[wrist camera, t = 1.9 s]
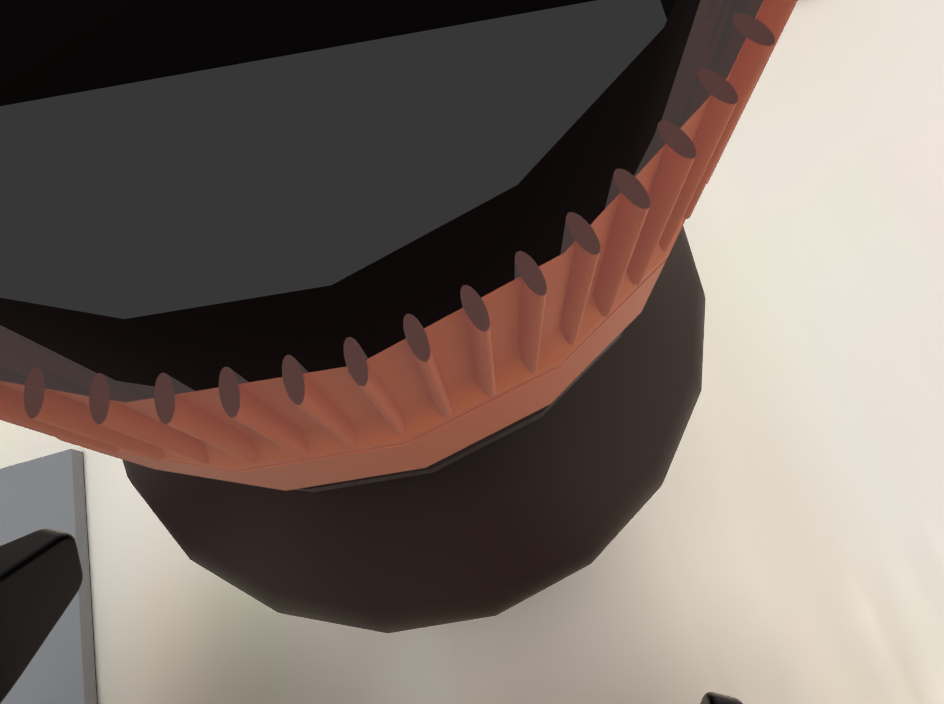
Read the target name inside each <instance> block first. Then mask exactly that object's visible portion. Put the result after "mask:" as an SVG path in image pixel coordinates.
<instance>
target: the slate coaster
mask: <svg viewBox="0 0 944 704" xmlns="http://www.w3.org/2000/svg"><path fill="white" fill-rule="evenodd" d="M44 528H50V529H55V530H59V531H63V532H67V533H70V534H72V535H73V536H74V538H75V540H76V543H77V547H78V552H79V556H80V561H81V565H82V570H83V580H82V584H81V586H80V589H79V591H78V592H77V594H76V595H75V597H74V598H73V600H72V601H71V603H70V604H69V606H68V607H67V609H66V610H65V612H64V613H63V615H62V616H61V618H60V619H59V621H58V622H57V623H56V625H55V626H54V628H53V629H52V631H51V632H50V634H49V635H48V637H47V638H46V640H45V641H44V643H43V644H42V646H41V647H40V649H39V650H38V652H37V653H36V655H35V656H34V657H33V659H32V660H31V662H30V663H29V665H28V666H27V668H26V669H25V671H24V672H23V674H22V675H21V677H20V678H19V679H18V681H17V682H16V683H15V685H14V686H13V688H12V689H11V690H10V692H9V693H8V694H7V696H6V697H5V698H4V700H3V701H2V702H1V703H0V704H97V694H96V677H95V660H94V642H93V625H92V608H91V591H90V574H89V556H88V539H87V522H86V505H85V488H84V470H83V453H82V452H80V451H76V450H73V449H70V450H66V451H63V452H59V453H55V454H52V455H48V456H45V457H41V458H38V459H34V460H31V461H27V462H24V463H20V464H16V465H13V466H9V467H6V468H2V469H0V546H1V545H3V544H6V543H8V542H10V541H13V540H15V539H18V538H20V537H22V536H25V535H27V534H30V533H32V532H34V531H37V530H40V529H44Z"/></svg>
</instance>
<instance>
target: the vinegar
mask: <svg viewBox="0 0 944 704" xmlns="http://www.w3.org/2000/svg"><path fill="white" fill-rule="evenodd" d="M797 1H798V0H0V420H3V421H6V422H9V423H12V424H16V425H19V426H22V427H25V428H28V429H32V430H35V431H38V432H41V433H44V434H48V435H51V436H54V437H56V438H58V439H60V440H62V441H65V442H68V443H71V444H74V445H79V446H81V447H84V448H87V449H91V450H94V451H97V452H100V453H104V454H107V455H110V456H113V457H116V458H120V459H123V463H124V466H125V469H126V473H127V476H128V478H129V480H130V481H131V483H132V484H133V486H134V487H135V488H136V490H137V491H138V492H139V494H140V495H141V496H142V497H143V499H144V500H145V501H146V503H147V504H148V505H149V507H150V508H151V509H152V510H153V512H154V513H155V514H156V516H157V517H158V518H159V519H160V521H161V522H162V523H163V525H164V526H165V527H166V529H167V530H168V531H169V532H170V534H171V535H172V536H173V538H174V539H175V540H176V541H177V543H178V544H179V545H180V547H181V548H182V549H183V551H184V552H185V553H186V554H187V556H188V557H189V558H190V559H191V560H192V561H194V562H196V563H197V564H199V565H201V566H202V567H204V568H205V569H207V570H209V571H210V572H212V573H214V574H215V575H217V576H219V577H220V578H222V579H224V580H225V581H227V582H229V583H230V584H232V585H234V586H235V587H237V588H239V589H240V590H242V591H244V592H245V593H247V594H248V595H250V596H252V597H253V598H255V599H257V600H258V601H260V602H262V603H263V604H265V605H267V606H268V607H270V608H272V609H273V610H275V611H277V612H279V613H283V614H288V615H294V616H299V617H304V618H310V619H315V620H320V621H326V622H331V623H336V624H342V625H347V626H352V627H358V628H363V629H369V630H374V631H379V632H385V633H391V632H398V631H404V630H410V629H416V628H422V627H428V626H434V625H440V624H447V623H453V622H459V621H465V620H471V619H477V618H483V617H490V616H496V615H498V614H499V613H501V612H503V611H505V610H507V609H509V608H510V607H512V606H514V605H516V604H518V603H520V602H521V601H523V600H525V599H527V598H529V597H531V596H532V595H534V594H536V593H538V592H540V591H542V590H543V589H545V588H547V587H549V586H551V585H553V584H554V583H556V582H558V581H560V580H562V579H564V578H565V577H567V576H569V575H571V574H573V573H575V572H576V571H578V570H580V569H582V568H584V567H586V566H587V565H589V564H591V563H592V562H593V561H594V560H595V559H596V558H597V556H598V555H599V554H600V553H601V552H602V551H603V550H604V549H605V548H606V546H607V545H608V544H609V543H610V542H611V541H612V540H613V539H614V538H615V537H616V535H617V534H618V533H619V532H620V531H621V530H622V529H623V528H624V527H625V525H626V524H627V523H628V522H629V521H630V520H631V519H632V518H633V517H634V515H635V514H636V513H637V512H638V511H639V510H640V509H641V508H642V507H643V506H644V504H645V503H646V502H647V501H648V500H649V499H650V498H651V497H652V496H653V494H654V493H655V492H656V491H657V490H658V489H659V488H660V487H661V485H662V483H663V481H664V479H665V476H666V474H667V472H668V469H669V467H670V464H671V462H672V460H673V457H674V455H675V452H676V450H677V447H678V445H679V443H680V440H681V438H682V435H683V433H684V431H685V428H686V426H687V423H688V421H689V419H690V416H691V414H692V411H693V409H694V406H695V404H696V402H697V399H698V397H699V394H700V392H701V384H702V362H703V339H704V317H705V295H704V291H703V288H702V285H701V282H700V278H699V275H698V272H697V269H696V266H695V262H694V259H693V256H692V253H691V249H690V246H689V243H688V240H687V237H686V233H685V230H684V227H683V224H684V222H685V219H688V218H689V217H690V216H691V214H692V212H693V210H694V208H695V206H696V204H697V201H698V199H699V197H700V195H701V193H702V191H703V189H704V187H705V185H706V184H707V183H708V181H709V179H710V177H711V175H712V173H713V171H714V169H715V167H716V165H717V163H718V161H719V159H720V157H721V155H722V153H723V151H724V149H725V147H726V145H727V143H728V141H729V139H730V137H731V135H732V133H733V131H734V129H735V127H736V125H737V123H738V120H739V118H740V116H741V114H742V112H743V110H744V108H745V106H746V104H747V102H748V100H749V98H750V96H751V94H752V92H753V90H754V88H755V86H756V84H757V82H758V80H759V78H760V76H761V74H762V72H763V70H764V68H765V66H766V64H767V62H768V59H769V57H770V55H771V53H772V51H773V49H774V47H775V45H776V43H777V41H778V39H779V37H780V35H781V33H782V31H783V29H784V27H785V25H786V23H787V21H788V19H789V17H790V15H791V13H792V11H793V9H794V7H795V5H796V3H797Z"/></svg>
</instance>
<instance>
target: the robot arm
mask: <svg viewBox="0 0 944 704" xmlns="http://www.w3.org/2000/svg"><path fill="white" fill-rule="evenodd" d="M82 580H83V570H82V565H81V561H80V556H79V552H78V547H77V543H76V540H75V538H74V536H73V535H72V534H70V533H67V532H63V531H59V530H55V529H50V528H44V529H40V530H37V531H34V532H32V533H30V534H27V535H25V536H22V537H20V538H18V539H15V540H13V541H10V542H8V543H6V544H3V545H1V546H0V703H1V702H2V701H3V700H4V698H5V697H6V696H7V694H8V693H9V692H10V690H11V689H12V688H13V686H14V685H15V683H16V682H17V681H18V679H19V678H20V677H21V675H22V674H23V672H24V671H25V669H26V668H27V666H28V665H29V663H30V662H31V660H32V659H33V657H34V656H35V655H36V653H37V652H38V650H39V649H40V647H41V646H42V644H43V643H44V641H45V640H46V638H47V637H48V635H49V634H50V632H51V631H52V629H53V628H54V626H55V625H56V623H57V622H58V621H59V619H60V618H61V616H62V615H63V613H64V612H65V610H66V609H67V607H68V606H69V604H70V603H71V601H72V600H73V598H74V597H75V595H76V594H77V592H78V591H79V589H80V586H81V584H82ZM700 704H743V703H742V702H741V701H739V700H738V699H736V698H734V697H730V696H726V695H722V694H717V693H713V692H708V693H706V694H705V695H704V697H703V698H702V701H701V703H700Z"/></svg>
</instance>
